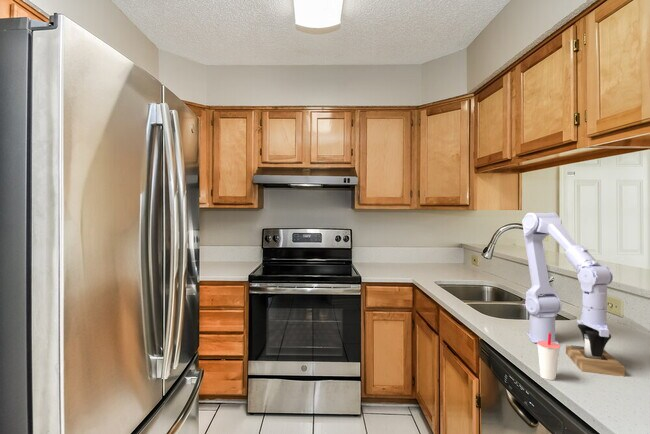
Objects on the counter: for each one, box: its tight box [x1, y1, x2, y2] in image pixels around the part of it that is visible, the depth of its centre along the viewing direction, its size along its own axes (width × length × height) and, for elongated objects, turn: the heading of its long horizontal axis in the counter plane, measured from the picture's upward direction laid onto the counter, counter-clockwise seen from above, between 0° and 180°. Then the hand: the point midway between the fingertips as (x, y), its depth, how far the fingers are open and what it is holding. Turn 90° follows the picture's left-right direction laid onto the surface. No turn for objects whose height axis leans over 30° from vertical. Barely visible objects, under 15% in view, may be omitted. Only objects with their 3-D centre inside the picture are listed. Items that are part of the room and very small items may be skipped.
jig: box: [565, 344, 626, 377], centre depth 104 cm, size 13×10×3 cm
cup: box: [536, 333, 561, 381], centre depth 95 cm, size 5×5×12 cm
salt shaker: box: [583, 334, 601, 360], centre depth 104 cm, size 4×4×7 cm
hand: (593, 353), depth 104 cm, fingers closed on salt shaker, 4 cm apart
